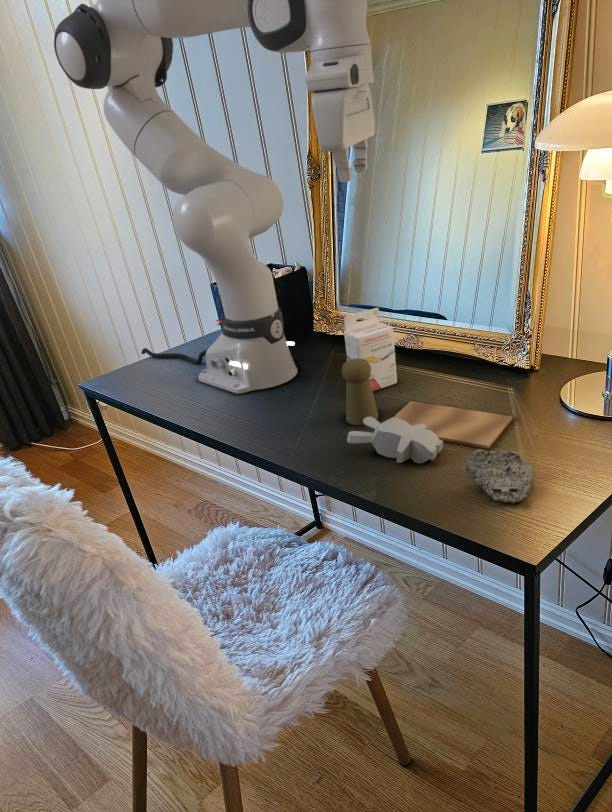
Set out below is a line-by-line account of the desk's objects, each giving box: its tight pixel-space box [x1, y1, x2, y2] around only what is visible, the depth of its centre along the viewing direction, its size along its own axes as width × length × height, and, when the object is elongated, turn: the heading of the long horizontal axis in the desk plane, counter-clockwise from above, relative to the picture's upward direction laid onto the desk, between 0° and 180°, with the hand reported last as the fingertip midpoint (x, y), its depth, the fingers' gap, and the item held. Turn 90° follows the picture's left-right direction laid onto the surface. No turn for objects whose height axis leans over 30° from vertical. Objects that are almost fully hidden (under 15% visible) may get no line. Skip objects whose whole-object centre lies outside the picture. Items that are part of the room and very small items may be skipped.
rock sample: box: [462, 448, 535, 504], centre depth 94 cm, size 10×8×9 cm
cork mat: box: [392, 400, 514, 450], centre depth 114 cm, size 20×11×1 cm, turn 59°
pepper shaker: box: [341, 359, 379, 426], centre depth 117 cm, size 6×6×11 cm
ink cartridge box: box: [343, 307, 398, 392], centre depth 127 cm, size 9×5×15 cm, turn 122°
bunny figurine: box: [346, 417, 444, 464], centre depth 107 cm, size 10×5×15 cm
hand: (353, 176), depth 103 cm, fingers open, 8 cm apart
